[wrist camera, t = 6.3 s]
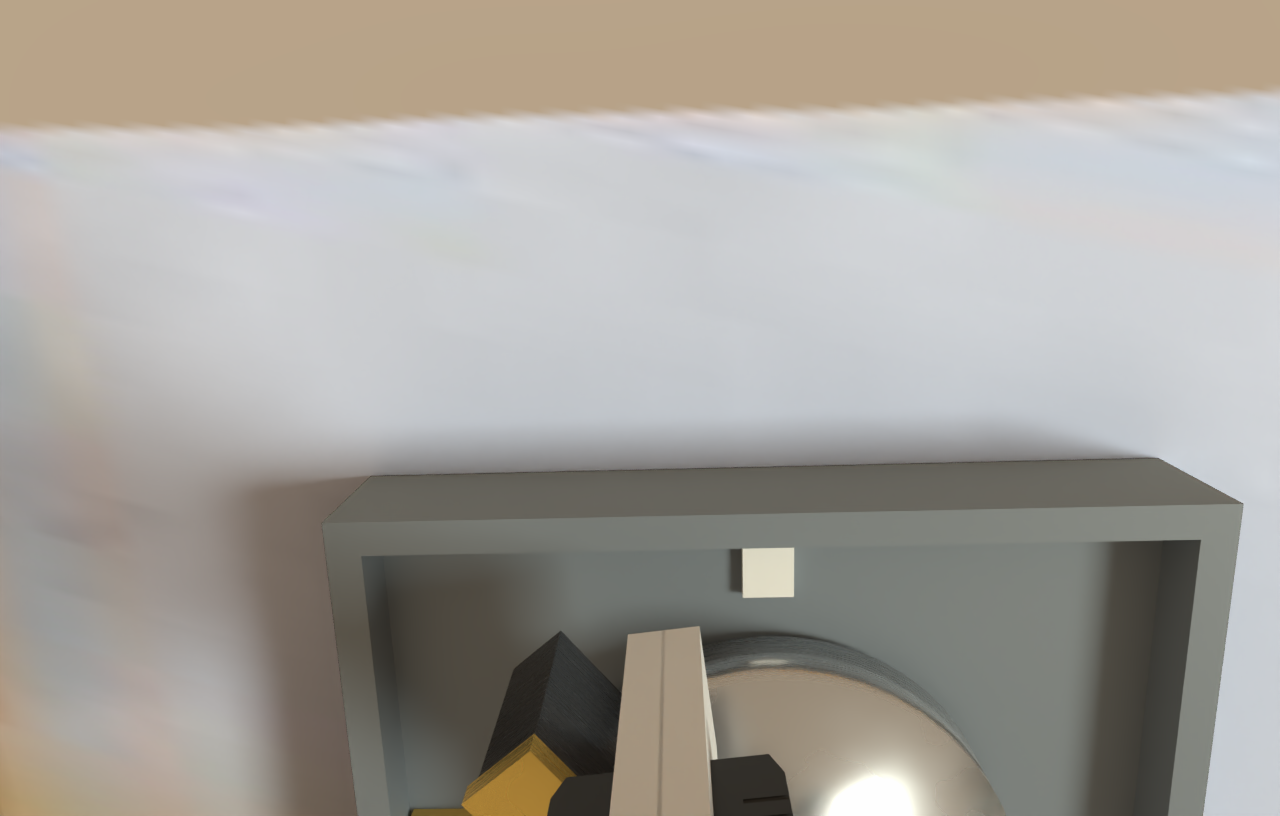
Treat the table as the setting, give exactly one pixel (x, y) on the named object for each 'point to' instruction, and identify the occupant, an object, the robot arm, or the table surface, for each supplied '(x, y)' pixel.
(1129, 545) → the grey tray
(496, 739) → the dial
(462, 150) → the table surface
